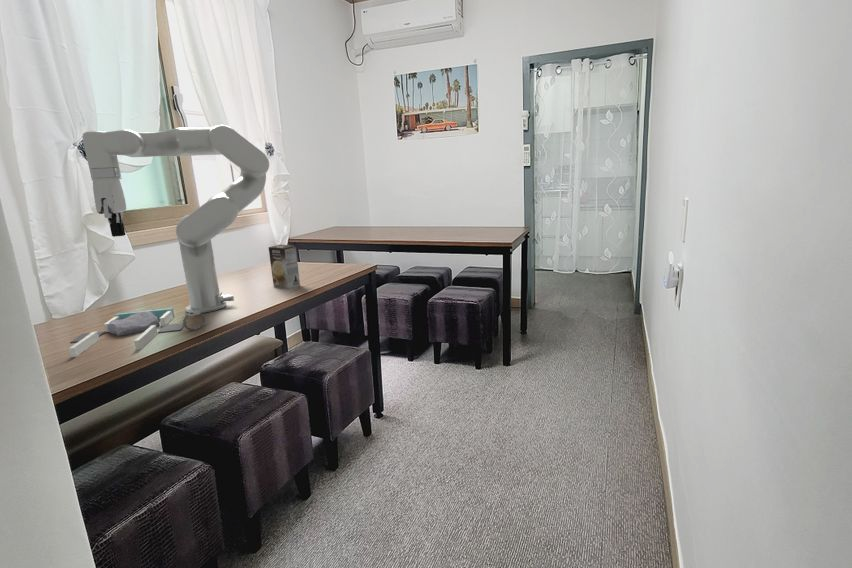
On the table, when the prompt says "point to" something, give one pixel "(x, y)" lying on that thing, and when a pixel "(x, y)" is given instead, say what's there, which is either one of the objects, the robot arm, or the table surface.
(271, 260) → the coffee box
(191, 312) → the wristwatch
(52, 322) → the table surface
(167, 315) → the trap channel
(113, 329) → the stone block
